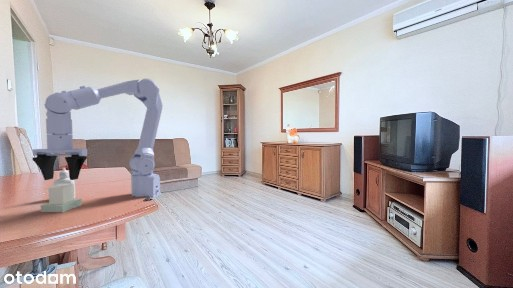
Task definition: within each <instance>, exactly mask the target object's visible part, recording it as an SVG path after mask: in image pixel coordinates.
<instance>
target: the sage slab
mask: <svg viewBox="0 0 513 288" xmlns="http://www.w3.org/2000/svg"><path fill="white" fill-rule="evenodd" d="M82 200H83V199H82V198H74V200H72V201H69V202H67V203H65V204H49V202H46V203H44V204H43V203H42V204H41V205H40V212H41V213H64V212H67V211H69V210H72V209H75V208H77V207H80V206H82V205H83V204H82V203H83V202H82Z"/></svg>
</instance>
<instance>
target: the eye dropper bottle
mask: <svg viewBox="0 0 513 288" xmlns="http://www.w3.org/2000/svg"><path fill="white" fill-rule="evenodd" d="M58 175H59V176H58V178H57V179H55V180H54V181H53V186H55V185H59V184H74V199H76V179H75V180H70V177H69V170H66V167H62V170H61V171H59V173H58Z"/></svg>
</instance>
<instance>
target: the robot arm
mask: <svg viewBox="0 0 513 288" xmlns="http://www.w3.org/2000/svg"><path fill="white" fill-rule="evenodd" d="M121 94H126V95H128V96H133V97H135V98H136V99H138V100H139V101H140V102H141V103H142V104H143V105H144V106H145V108H146V112H145V115H144V120H143V125H142V129H141V131H140V133H141V134H140V137H139V142H138V146H137V148H136V150H135V151H134V154H133V156H132V157H131V158H130V160H129V161H128V162H129V168H130V169H131V170H132V172H131V174H130V178H131V179H130V180H131V181H130V183H131V185H130V186H131V187H130V188H131V197H137V198H138V197H145V198H144V199H143V200H146V201H151V200H150V199H152V200H154V199H155V198H157V197H158V196H160V195H161V194H162V192H161V177H160V175H159V174H157V173H154V169H155V167H156V163H155V153H154V146H155V143H156V142H155V141H156V137H157V133H158V128H159V124H160V120H161V115H162V110H163V106H164V105H163V102H162V99H161V96H160V87H159V86H158V85H157V83H155V81H154V80H152V79H150V78H142V79H134V80H133V79H132V80H128V81H122V82H119V83H115V84H112V85H108V86H104V87H101V88H95V87H92V86H85V85H81V86H79V88H77V89H73V90H72V89H71V90H69V91H66V90H62V91H61V92H54V93H53V94H49V95H48V96H47V97H46V99H45V102H44V108H45V109H46V114H45V115H46V117H47V118H46V119H45V125H46V126H45V127H46V128H45V129H46V132H45V133H46V148H34V149H32V156H33V157H32V161H33V162H34V163H35V164H36V165H37V168H39V170H40V173H41V175H42V177H43V180H44V181H48V180H53V179H54V175H55V163H56V159H57V157H58V156H60V157H61V156H62V157H63V156H65V157H64V160H65V162H66V164H67V167H68V172H69V178H70V180H75V181H76V180H78V179H79V176H80V173H81V170H82V167H83V165H84V163H85V162H86V160H87V159H88V149H87V148H74V144H73V142H74V140H73V120H72V116H71V115H72V114H71V113H72V110H80V109H85V108H88V107H91V106H95V105H99V103H100V102H101V100H103V99H105V98H110V97H114V96H118V95H121ZM148 195H149V196H148ZM150 197H151V198H150Z"/></svg>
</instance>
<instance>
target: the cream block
mask: <svg viewBox="0 0 513 288" xmlns="http://www.w3.org/2000/svg"><path fill="white" fill-rule="evenodd" d="M47 188H48V203H49V204H65V203H67V202H69V201H72V200H74V199H75V198H74V184H59V185H55V186H54V185H52V186H49V187H47Z"/></svg>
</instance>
